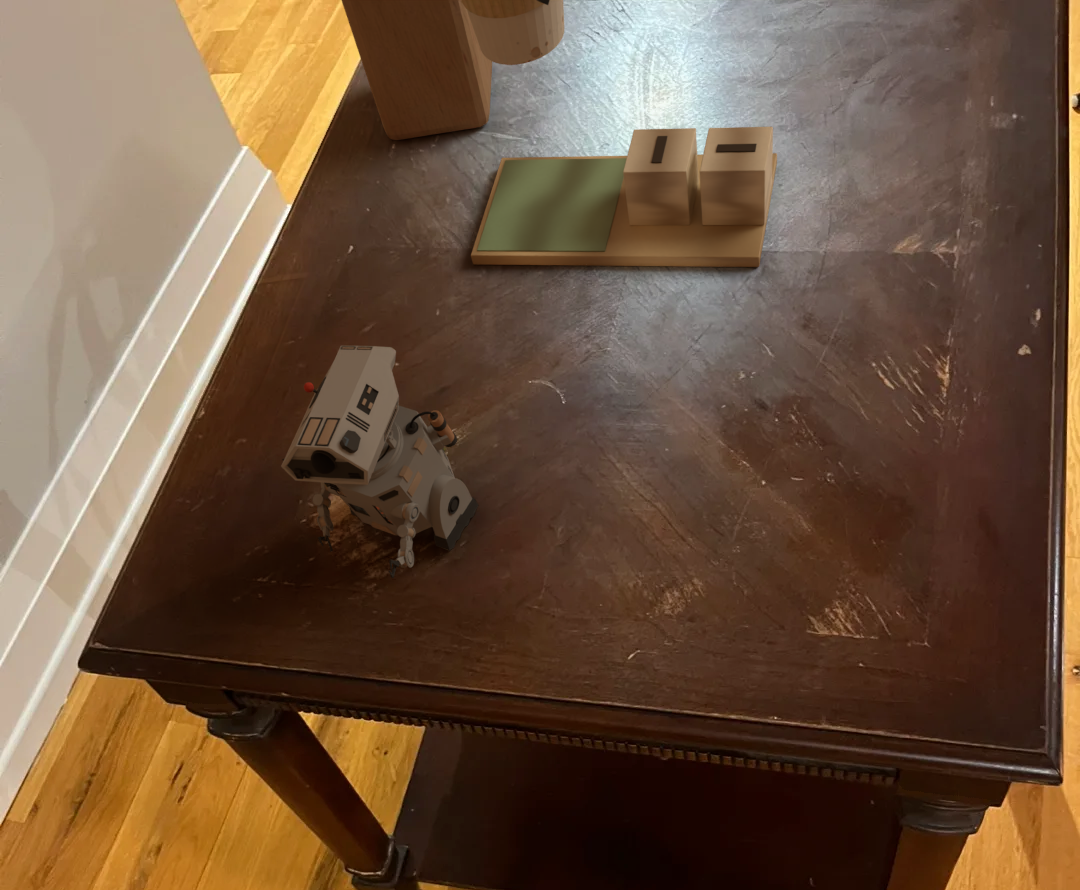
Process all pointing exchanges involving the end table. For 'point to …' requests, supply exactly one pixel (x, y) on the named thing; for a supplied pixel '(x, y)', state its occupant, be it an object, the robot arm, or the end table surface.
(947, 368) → the end table surface
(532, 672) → the end table surface
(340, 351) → the figurine
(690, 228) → the word board
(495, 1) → the coffee cup
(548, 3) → the robot arm
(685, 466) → the end table surface
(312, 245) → the end table surface
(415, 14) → the wooden block
